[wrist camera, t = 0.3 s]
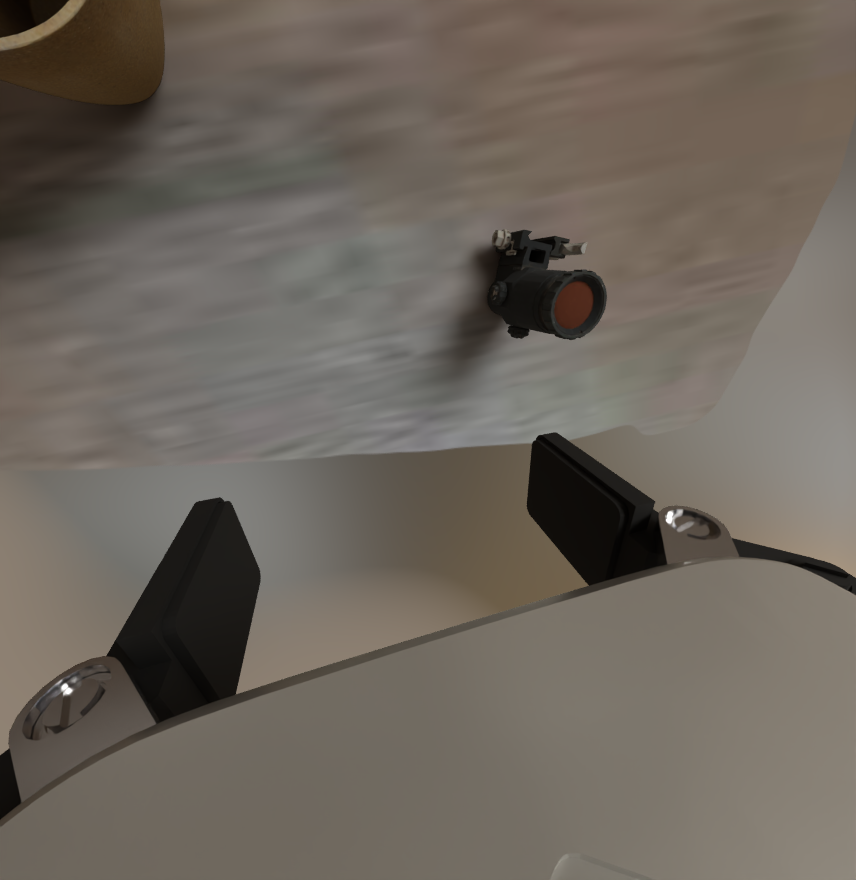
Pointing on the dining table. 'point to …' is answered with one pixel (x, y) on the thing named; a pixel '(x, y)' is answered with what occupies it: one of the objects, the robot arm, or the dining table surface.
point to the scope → (544, 287)
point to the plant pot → (83, 48)
